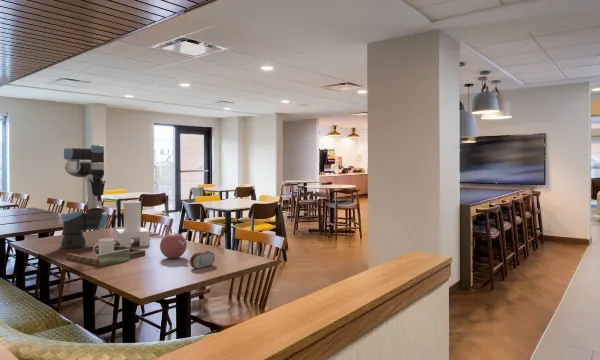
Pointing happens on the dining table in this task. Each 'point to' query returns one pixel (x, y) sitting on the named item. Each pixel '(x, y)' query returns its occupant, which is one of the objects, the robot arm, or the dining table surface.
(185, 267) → the dining table surface
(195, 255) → the tin
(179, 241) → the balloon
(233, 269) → the dining table surface
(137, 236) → the white block stand
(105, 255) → the wooden compartment tray
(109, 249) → the mug
